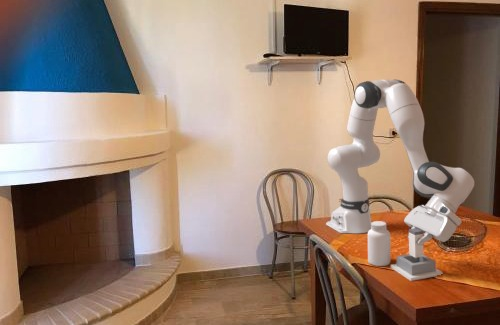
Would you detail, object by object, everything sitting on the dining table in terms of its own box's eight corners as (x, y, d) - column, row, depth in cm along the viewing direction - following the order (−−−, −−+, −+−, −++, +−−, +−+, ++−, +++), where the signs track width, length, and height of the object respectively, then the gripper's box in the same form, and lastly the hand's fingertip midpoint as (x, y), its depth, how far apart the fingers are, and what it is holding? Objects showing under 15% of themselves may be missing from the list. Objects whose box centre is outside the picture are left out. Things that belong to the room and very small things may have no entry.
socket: (390, 267, 154) (390, 255, 153) (420, 262, 157) (420, 250, 156) (410, 280, 143) (410, 268, 142) (442, 274, 145) (442, 262, 145)
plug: (409, 254, 150) (408, 229, 149) (416, 253, 151) (416, 228, 149) (415, 257, 147) (414, 232, 145) (423, 256, 147) (422, 230, 146)
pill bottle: (387, 268, 154) (386, 227, 151) (365, 264, 158) (364, 225, 156) (393, 260, 160) (392, 221, 158) (371, 257, 165) (370, 218, 162)
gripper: (414, 198, 158) (391, 228, 157) (453, 212, 138) (426, 246, 137) (425, 208, 159) (402, 238, 159) (465, 223, 140) (439, 257, 139)
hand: (414, 242), depth 148 cm, fingers closed on plug, 3 cm apart
